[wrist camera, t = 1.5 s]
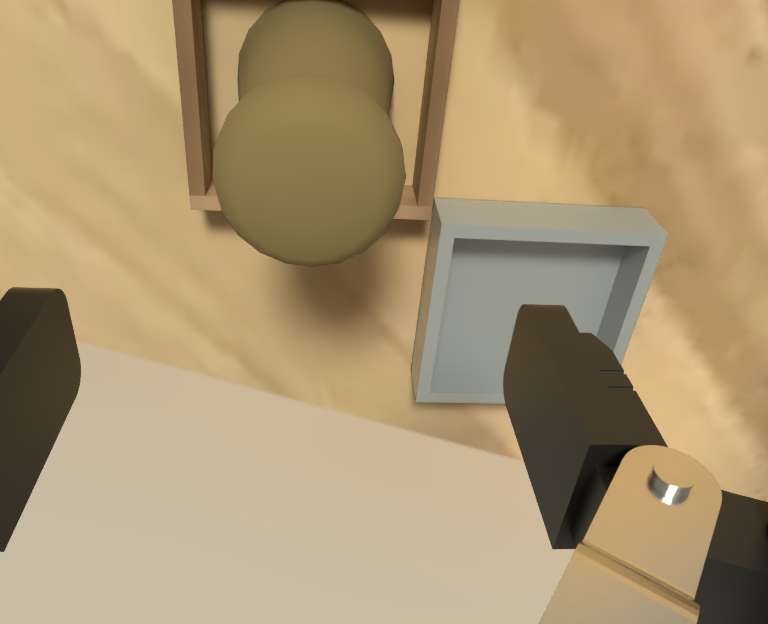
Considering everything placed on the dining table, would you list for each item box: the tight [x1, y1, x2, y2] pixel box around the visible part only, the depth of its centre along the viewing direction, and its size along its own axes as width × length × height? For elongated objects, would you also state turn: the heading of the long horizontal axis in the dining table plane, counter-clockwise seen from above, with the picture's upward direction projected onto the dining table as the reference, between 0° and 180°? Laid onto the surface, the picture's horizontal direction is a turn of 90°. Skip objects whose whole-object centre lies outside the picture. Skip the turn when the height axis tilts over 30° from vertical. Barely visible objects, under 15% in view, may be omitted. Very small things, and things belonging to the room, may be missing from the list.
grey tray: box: [411, 198, 668, 404], centre depth 31 cm, size 10×10×2 cm
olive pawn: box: [212, 0, 406, 266], centre depth 21 cm, size 6×6×11 cm
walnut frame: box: [172, 0, 460, 220], centre depth 25 cm, size 10×10×2 cm
